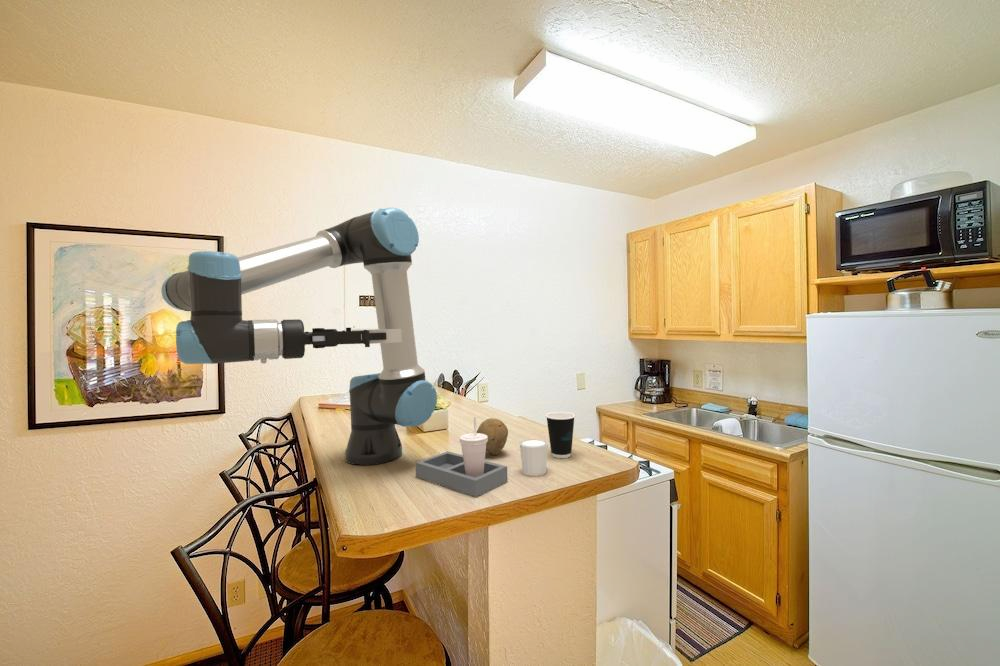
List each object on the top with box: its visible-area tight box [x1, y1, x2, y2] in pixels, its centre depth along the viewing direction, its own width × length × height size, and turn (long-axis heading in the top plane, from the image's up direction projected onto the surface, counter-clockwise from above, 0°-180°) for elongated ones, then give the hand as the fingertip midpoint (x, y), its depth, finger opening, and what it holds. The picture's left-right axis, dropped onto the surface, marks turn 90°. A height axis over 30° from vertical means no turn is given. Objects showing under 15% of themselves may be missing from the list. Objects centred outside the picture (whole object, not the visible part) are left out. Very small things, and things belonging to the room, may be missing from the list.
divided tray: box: [414, 451, 508, 498], centre depth 95 cm, size 20×10×4 cm, turn 50°
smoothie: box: [459, 416, 488, 478], centre depth 92 cm, size 6×6×14 cm
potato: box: [477, 417, 509, 456], centre depth 113 cm, size 9×9×10 cm
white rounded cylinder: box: [519, 439, 549, 477], centre depth 99 cm, size 7×7×7 cm
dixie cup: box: [545, 411, 576, 459], centre depth 110 cm, size 8×8×11 cm
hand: (390, 335), depth 89 cm, fingers open, 13 cm apart
